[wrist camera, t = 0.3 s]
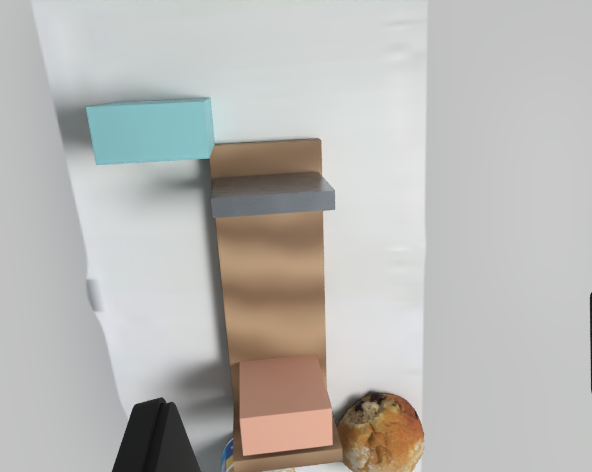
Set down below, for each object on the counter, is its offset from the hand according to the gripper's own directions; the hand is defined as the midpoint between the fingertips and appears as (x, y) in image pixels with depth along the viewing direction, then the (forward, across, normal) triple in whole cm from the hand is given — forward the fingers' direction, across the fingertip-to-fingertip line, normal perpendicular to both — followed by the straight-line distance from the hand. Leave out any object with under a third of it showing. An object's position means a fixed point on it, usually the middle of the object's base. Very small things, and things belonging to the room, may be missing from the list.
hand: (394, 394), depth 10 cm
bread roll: (+35, -4, +33) cm, 49 cm away
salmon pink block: (+33, +5, +22) cm, 40 cm away
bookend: (+33, +1, +2) cm, 33 cm away
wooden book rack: (+35, +3, +12) cm, 37 cm away
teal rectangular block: (+35, +9, -5) cm, 36 cm away
